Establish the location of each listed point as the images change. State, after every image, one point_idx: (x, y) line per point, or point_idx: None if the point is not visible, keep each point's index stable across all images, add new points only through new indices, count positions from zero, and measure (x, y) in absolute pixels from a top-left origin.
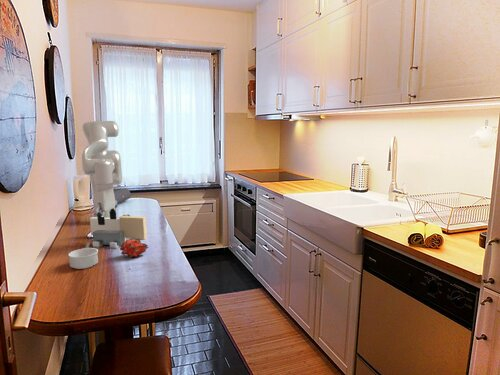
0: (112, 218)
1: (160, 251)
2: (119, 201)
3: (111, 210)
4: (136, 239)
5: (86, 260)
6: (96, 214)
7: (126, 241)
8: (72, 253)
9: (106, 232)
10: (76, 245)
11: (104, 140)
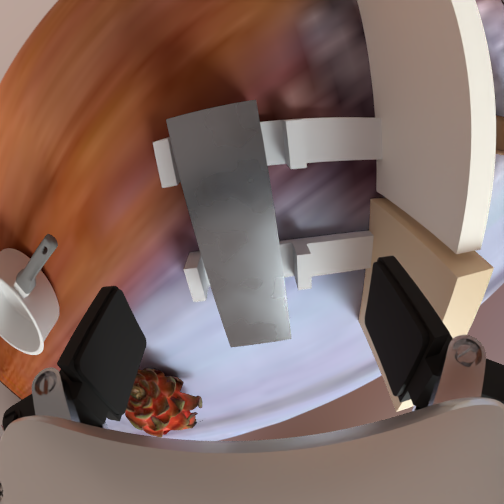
0: (372, 295)
1: (235, 411)
2: None
3: (427, 378)
4: (160, 436)
5: (13, 330)
6: (19, 413)
7: (135, 415)
8: None
9: (209, 253)
10: (166, 12)
11: None
